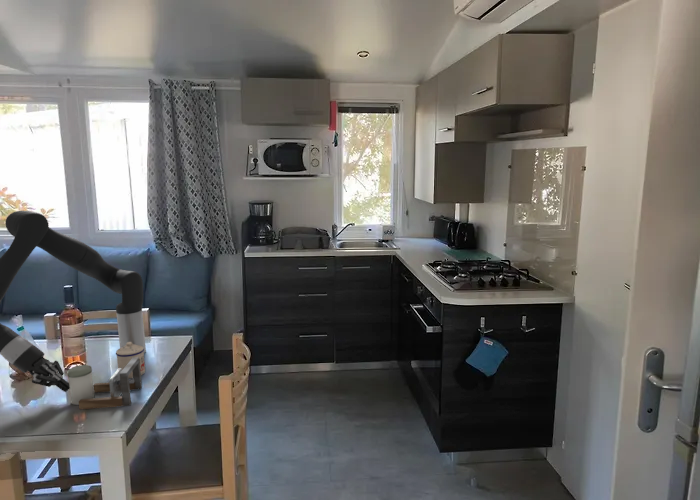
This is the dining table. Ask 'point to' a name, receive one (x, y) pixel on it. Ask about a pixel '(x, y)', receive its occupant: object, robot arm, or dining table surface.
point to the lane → (125, 388)
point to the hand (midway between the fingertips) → (68, 389)
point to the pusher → (116, 383)
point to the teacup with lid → (130, 356)
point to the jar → (80, 383)
